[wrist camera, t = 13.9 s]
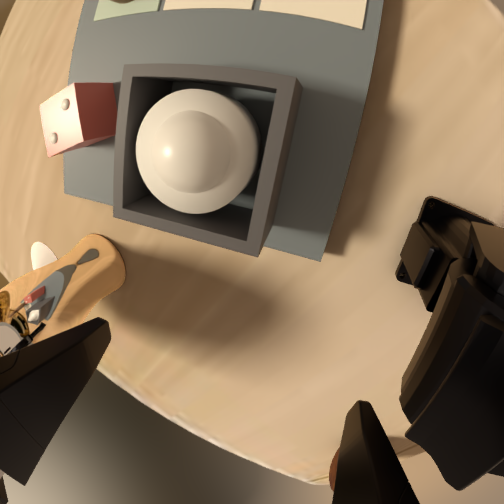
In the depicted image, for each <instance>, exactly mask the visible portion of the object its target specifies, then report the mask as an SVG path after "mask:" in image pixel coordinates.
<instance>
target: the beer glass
mask: <svg viewBox="0 0 504 504" xmlns="http://www.w3.org/2000/svg"><path fill="white" fill-rule="evenodd" d="M125 275H126V272H125V266H124V262H123V259H122V257H121V255H120V253H119V252H118V250H117V249H116V247H115V246H114V245H113V244H112V243H111V242H110V241H109V240H107V239H106V238H104V237H103V236H100V235H97V234H90V235H87V236H85V237H84V238H83V239H81V240H80V241H79V242H78V244H77V245H76V246H75V247H74V248H73V249H72V250H71V251H70V252H69V253H67V254H66V255H65V256H63V257H61V258H60V259H58V260H56V261H54V262H51V263H49V264H47V265H44V266H42V267H40V268H37V269H35V270H33V271H31V272H29V273H26V274H25V275H23V276H21V277H19V278H17V279H15V280H13V281H12V282H11V283H9V284H8V285H6V286H5V287H4V288H2V289H1V290H0V357H2V356H4V355H7V354H10V353H12V352H15V351H17V350H20V349H22V348H24V347H27V346H29V345H32V344H34V343H37V342H39V341H41V340H44V339H46V338H49V337H51V336H53V335H56V334H58V333H61V332H63V331H66V330H68V329H70V328H73V327H75V326H78V325H80V324H82V323H83V322H84V320H85V319H86V317H87V316H88V314H89V313H90V311H91V310H92V308H93V307H94V306H95V305H96V304H97V303H98V302H99V301H100V300H101V299H103V298H104V297H105V296H107V295H109V294H110V293H112V292H114V291H116V290H117V289H118V288H120V287H121V286H122V284H123V283H124V280H125Z"/></svg>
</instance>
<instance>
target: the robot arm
mask: <svg viewBox="0 0 504 504" xmlns="http://www.w3.org/2000/svg"><path fill="white" fill-rule="evenodd" d="M431 201H433V206H431V207H429V203H430V202H431ZM400 256H401V258H402V259H401V261H400V263H399V265H398V268H397V270H396V273H395V275H396V278H397V280H398V281H400V282H403V283H407V284H410V285H413V286H414V288H417V289H418V290H419V292H420V295H421V297H422V300H423V302H424V304H425V307H426V309H427V311H429V312H433V314H432V316H431V318H430V321H429V323H428V325H427V328H426V330H425V332H424V334H423V337H422V339H421V341H420V343H419V345H418V347H417V349H416V351H415V353H414V355H413V358H412V359H411V361H410V363H409V365H408V367H407V369H406V371H405V373H404V375H403V377H402V385H401V395H400V397H399V400H400V404H401V407H402V410H403V412H404V414H405V415H406V417H407V419H408V420H409V422H410V423H411V424H412V425H411V426H410V428H409V429H408V430H407V431H406V433H405V437H406V438H408V439H409V440H411V441H413V442H415V443H416V444H418V445H420V446H421V447H422V448H423V449H424V450H425V451H426V452H427V453H428V454H429V455H430V456H431V457H432V459H433V460H434V461H435V463H436V465H437V466H438V468H439V470H440V472H441V474H442V476H443V478H444V479H445V481H446V482H447V483H448V484H449V485H451V486H452V487H453V488H455V489H456V490H459V491H460V490H463V489H465V488H466V487H468V486H469V485H471V484H472V483H473V482H475V481H476V480H478V479H479V478H481V477H482V476H483V475H485V474H486V473H490V474H494V475H499V476H503V477H504V228H500V227H496V226H494V225H493V224H492V223H491V222H490V221H488V220H486V219H483V218H481V217H479V216H477V215H475V214H473V213H470V212H468V211H466V210H464V209H461V208H459V207H457V206H454V205H452V204H450V203H447V202H445V201H442V200H440V199H437V198H435V197H432V196H429V197H427V198H425V200H424V202H423V205H422V208H421V211H420V214H419V216H418V219H417V222H414V223H413V224H412V227H411V229H410V232H409V234H408V237H407V239H406V242H405V244H404V247H403V249H402V251H401V254H400ZM401 273H405V274H404V275H403V276H400V274H401ZM110 341H111V333H110V328H109V323H108V321H106V320H104V319H102V318H100V317H97V318H94V319H92V320H90V321H87V322H85V323H82V324H80V325H78V326H75V327H73V328H70V329H68V330H66V331H63V332H61V333H58V334H56V335H53V336H51V337H49V338H46V339H44V340H41V341H39V342H37V343H34V344H32V345H29V346H27V347H24V348H22V349H20V350H17V351H15V352H12V353H10V354H7V355H4V356H2V357H0V504H7V502H8V498H7V494H6V490H5V485H4V480H3V474H4V473H6V474H7V475H9V476H10V477H12V478H13V479H15V480H16V481H18V482H19V483H21V484H22V485H24V486H25V485H26V483H27V481H28V480H29V477H30V476H31V474H32V472H33V471H34V469H35V467H36V465H37V464H38V462H39V460H40V458H41V456H42V455H43V453H44V451H45V449H46V447H47V446H48V444H49V443H50V441H51V439H52V438H53V436H54V434H55V433H56V431H57V429H58V428H59V426H60V424H61V423H62V421H63V420H64V418H65V416H66V415H67V413H68V412H69V410H70V409H71V407H72V405H73V404H74V402H75V401H76V399H77V398H78V396H79V394H80V393H81V392H82V390H83V388H84V387H85V385H86V384H87V382H88V381H89V379H90V378H91V376H92V375H93V373H94V371H95V370H96V368H97V366H98V364H99V362H100V360H101V358H102V356H103V354H104V352H105V351H106V349H107V347H108V345H109V343H110ZM332 504H420V503H419V501H418V499H417V497H416V495H415V493H414V491H413V490H412V488H411V485H410V483H409V482H408V479H407V477H406V475H405V472H404V470H403V468H402V466H401V464H400V462H399V460H398V458H397V456H396V454H395V452H394V450H393V447H392V445H391V443H390V441H389V439H388V437H387V435H386V433H385V431H384V429H383V427H382V425H381V423H380V421H379V419H378V417H377V415H376V413H375V411H374V409H373V408H372V406H371V404H370V403H369V402H368V401H362V400H358V401H357V402H356V403H355V404H354V406H353V407H352V408H351V409H350V410H349V412H348V413H347V416H346V420H345V425H344V430H343V435H342V440H341V445H340V449H339V454H338V461H337V470H336V479H335V487H334V495H333V501H332Z"/></svg>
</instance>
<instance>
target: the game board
mask: <svg viewBox="0 0 504 504" xmlns="http://www.w3.org/2000/svg"><path fill="white" fill-rule="evenodd" d="M383 1H384V0H134V1H131V2H129V3H125V4H119V3H116V2H113V1H110V0H85V1H84V4H83V8H82V11H81V15H80V19H79V24H78V28H77V32H76V37H75V42H74V47H73V53H72V58H71V65H70V71H69V79H68V86H69V85H71V84H73V83H85V82H100V83H113V88H114V94H115V100H116V106H117V112H118V113H117V123H116V135H115V136H112V137H109V138H107V139H104V140H101V141H99V142H96V143H94V144H91V145H89V146H86V147H83V148H79V149H76V150H72V151H68V152H65V153H64V155H63V161H64V194H68V195H72V196H76V197H80V198H84V199H88V200H92V201H96V202H100V203H103V204H107V205H111V206H113V217H115V218H119V219H122V220H126V221H129V222H133V223H136V224H140V225H144V226H147V227H151V228H154V229H158V230H161V231H165V232H168V233H172V234H176V235H179V236H183V237H186V238H190V239H193V240H197V241H201V242H204V243H208V244H211V245H215V246H218V247H222V248H226V249H229V250H233V251H236V252H240V253H244V254H247V255H251V256H254V257H258V256H259V254H260V252H261V250H262V247H263V246H265V247H268V248H272V249H276V250H279V251H283V252H287V253H290V254H294V255H298V256H301V257H305V258H308V259H312V260H316V261H319V262H321V259H322V256H323V253H324V250H325V247H326V244H327V240H328V237H329V234H330V231H331V228H332V225H333V221H334V218H335V215H336V211H337V208H338V205H339V201H340V198H341V194H342V191H343V188H344V184H345V180H346V177H347V173H348V170H349V166H350V162H351V158H352V155H353V151H354V147H355V143H356V139H357V135H358V131H359V127H360V123H361V118H362V114H363V110H364V105H365V101H366V96H367V92H368V87H369V82H370V77H371V73H372V67H373V62H374V57H375V52H376V46H377V40H378V34H379V28H380V22H381V15H382V8H383ZM185 89H202V90H208V91H214V92H219V93H223V94H226V95H228V96H230V97H232V98H234V99H236V100H237V101H239V102H240V103H241V104H243V105H244V106H245V107H246V108H247V109H248V111H249V112H250V113H251V114H252V116H253V118H254V119H255V121H256V123H257V126H258V128H259V131H260V135H261V141H262V154H261V160H260V164H259V167H258V170H257V172H256V174H255V176H254V178H253V179H252V181H251V182H250V183H249V184H248V186H247V187H246V188H245V189H244V190H242V191H241V192H240V193H239V194H238V195H237V196H236V197H235V198H234V199H233V200H232V201H231V202H229V203H228V204H227V205H225V206H223V207H221V208H220V209H217V210H215V211H212V212H208V213H201V214H191V213H185V212H181V211H177V210H175V209H173V208H170V207H169V206H167V205H165V204H164V203H162V202H161V201H160V200H159V199H157V198H156V197H155V196H154V195H153V194H152V192H151V191H150V190H149V189H148V187H147V186H146V184H145V182H144V181H143V179H142V176H141V174H140V171H139V168H138V164H137V159H136V141H137V135H138V131H139V128H140V126H141V123H142V121H143V119H144V117H145V116H146V114H147V113H148V112H149V110H150V109H151V108H152V107H153V106H154V105H155V104H156V103H157V102H158V101H159V100H161V99H162V98H164V97H165V96H167V95H169V94H171V93H174V92H176V91H180V90H185Z"/></svg>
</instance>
